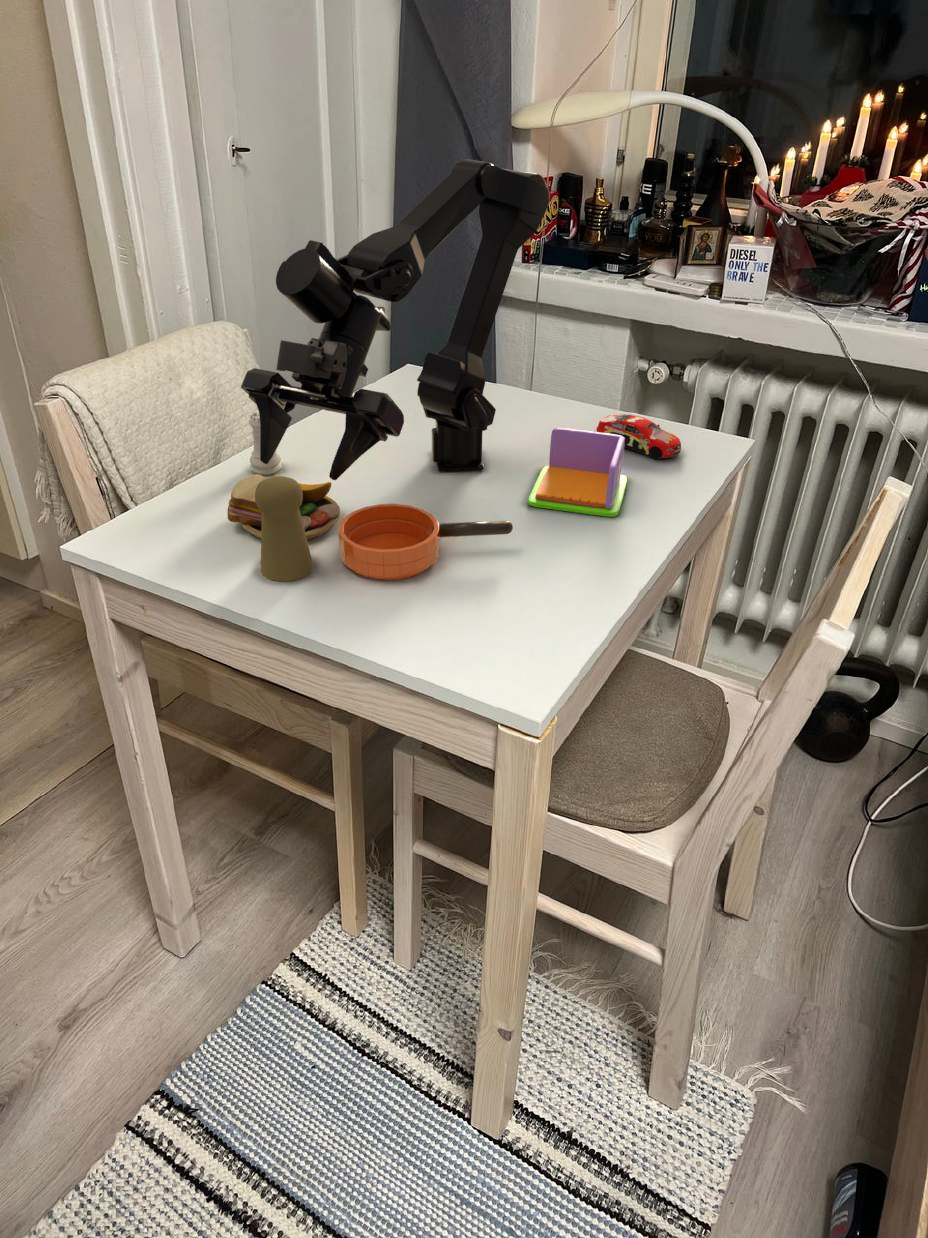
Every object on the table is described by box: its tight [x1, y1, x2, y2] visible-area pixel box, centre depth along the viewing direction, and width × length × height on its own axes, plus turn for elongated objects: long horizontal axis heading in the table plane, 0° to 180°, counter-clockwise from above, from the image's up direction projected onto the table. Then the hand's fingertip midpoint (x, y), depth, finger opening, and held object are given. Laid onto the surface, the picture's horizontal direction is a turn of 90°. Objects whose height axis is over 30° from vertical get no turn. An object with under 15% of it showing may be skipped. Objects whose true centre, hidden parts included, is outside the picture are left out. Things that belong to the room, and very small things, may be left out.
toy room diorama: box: [527, 427, 628, 518], centre depth 121 cm, size 12×12×7 cm
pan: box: [338, 503, 440, 581], centre depth 108 cm, size 12×12×4 cm
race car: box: [595, 414, 682, 461], centre depth 135 cm, size 13×5×4 cm, turn 50°
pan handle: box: [432, 520, 514, 538], centre depth 108 cm, size 10×2×2 cm, turn 97°
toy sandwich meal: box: [226, 473, 341, 541], centre depth 114 cm, size 12×14×5 cm
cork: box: [255, 475, 314, 583], centre depth 103 cm, size 6×6×11 cm
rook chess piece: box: [248, 411, 283, 476], centre depth 126 cm, size 4×4×8 cm
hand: (297, 470), depth 103 cm, fingers open, 9 cm apart
